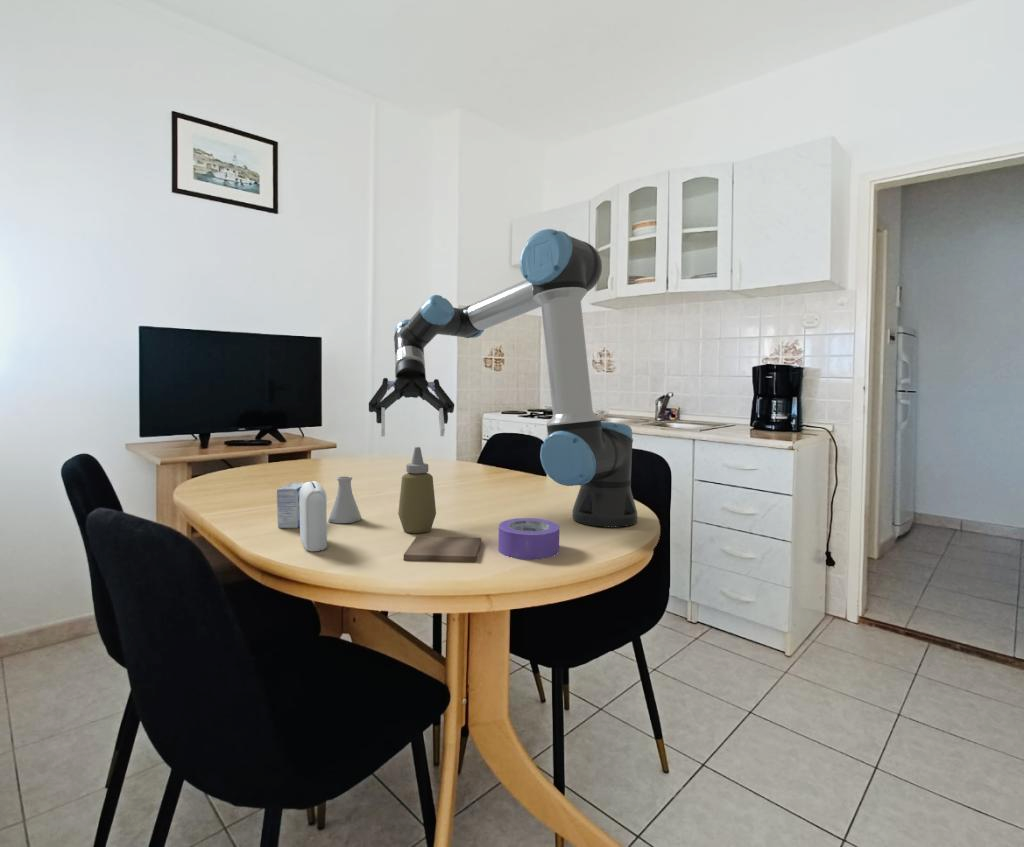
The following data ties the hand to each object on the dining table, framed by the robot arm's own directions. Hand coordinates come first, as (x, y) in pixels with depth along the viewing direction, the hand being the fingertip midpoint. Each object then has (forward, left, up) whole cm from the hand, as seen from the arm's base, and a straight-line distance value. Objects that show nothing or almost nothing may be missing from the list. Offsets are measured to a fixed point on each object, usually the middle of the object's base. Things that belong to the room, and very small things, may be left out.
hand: (413, 432), depth 130 cm
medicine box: (+25, +8, -20) cm, 33 cm away
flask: (+15, +4, -20) cm, 25 cm away
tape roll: (-27, +23, -20) cm, 41 cm away
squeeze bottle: (-3, +11, -20) cm, 23 cm away
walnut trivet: (-11, +25, -20) cm, 34 cm away
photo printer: (+15, +23, -20) cm, 34 cm away
